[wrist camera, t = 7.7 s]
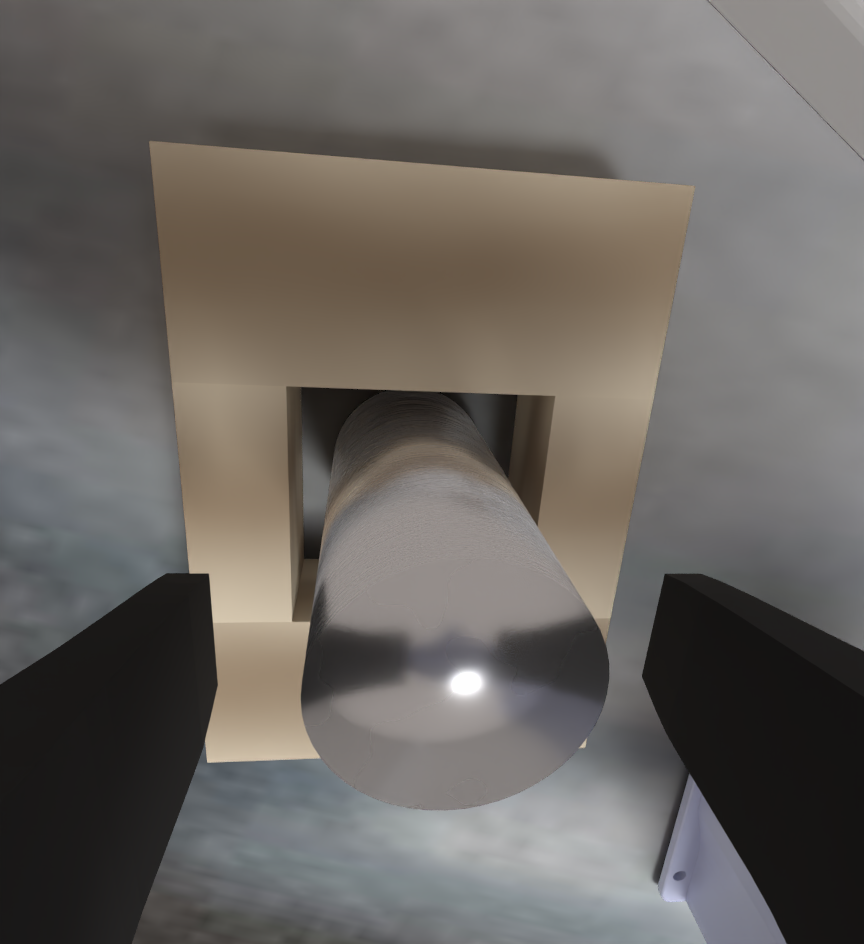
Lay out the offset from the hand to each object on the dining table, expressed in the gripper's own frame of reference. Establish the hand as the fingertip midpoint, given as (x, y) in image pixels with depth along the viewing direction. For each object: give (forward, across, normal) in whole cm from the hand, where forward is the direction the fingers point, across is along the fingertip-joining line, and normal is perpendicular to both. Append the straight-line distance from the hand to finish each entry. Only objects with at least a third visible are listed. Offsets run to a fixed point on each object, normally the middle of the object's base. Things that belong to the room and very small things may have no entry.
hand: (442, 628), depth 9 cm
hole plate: (+7, 0, 0) cm, 7 cm away
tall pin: (+7, 0, 0) cm, 7 cm away
